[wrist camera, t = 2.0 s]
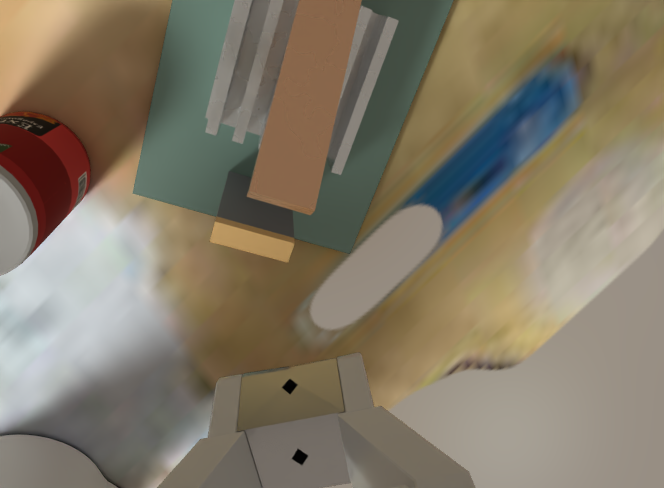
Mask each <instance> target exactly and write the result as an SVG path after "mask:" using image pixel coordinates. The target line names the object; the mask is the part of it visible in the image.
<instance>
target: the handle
mask: <svg viewBox="0 0 664 488" xmlns="http://www.w3.org/2000/svg"><path fill="white" fill-rule="evenodd" d="M361 1H362V0H299V1H298V5H297V9H296V12H295V16H294V20H293V24H292V27H291V31H290V35H289V39H288V42H287V46H286V50H285V54H284V57H283V61H282V65H281V69H280V73H279V76H278V80H277V84H276V88H275V91H274V95H273V99H272V103H271V106H270V110H269V114H268V118H267V122H266V125H265V129H264V133H263V137H262V140H261V144H260V148H259V152H258V155H257V159H256V163H255V167H254V170H253V174H252V178H251V182H250V186H249V189H248V193H247V197H249V198H253V199H256V200H260V201H263V202H267V203H270V204H273V205H277V206H280V207H284V208H287V209H291V210H294V211H297V212H301V213H304V214H308V215H311V214H312V213H313V212H314V211H315V208H316V203H317V199H318V194H319V190H320V185H321V181H322V176H323V172H324V167H325V163H326V158H327V154H328V149H329V145H330V140H331V136H332V131H333V127H334V122H335V118H336V113H337V109H338V105H339V100H340V96H341V91H342V87H343V82H344V78H345V73H346V69H347V64H348V60H349V55H350V51H351V46H352V42H353V37H354V33H355V28H356V24H357V19H358V15H359V10H360V6H361Z"/></svg>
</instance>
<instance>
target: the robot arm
mask: <svg viewBox="0 0 664 488" xmlns="http://www.w3.org/2000/svg"><path fill="white" fill-rule="evenodd" d="M337 363H338V364H337ZM338 369H339V370H338ZM348 483H351V486H352V487H353V488H475V485H474V483H473V480H472V478H471V476H470V473H469V471H467V470H466V469H465V468H463V467H462V466H461V465H459V464H458V463H456V462H455V461H454V460H453V459H451V458H450V457H449V456H447V455H446V454H445V453H443V452H442V451H441V450H439V449H438V448H436V447H435V446H434V445H433V444H431V443H430V442H428V441H427V440H426V439H425V438H423V437H422V436H420V435H419V434H418V433H416V432H415V431H414V430H413V429H411V428H410V427H408V426H407V425H406V424H405V423H403V422H402V421H400V420H399V419H398V418H397V417H395V416H394V415H393V414H391V413H390V412H388V411H387V410H386V409H384V408H383V407H382V406H378V407H374V405H373V401H372V396H371V392H370V388H369V384H368V379H367V375H366V371H365V367H364V363H363V358H362V355H361V353H360V352H358V353H354V354H349V355H344V356H339V357H337V359H336V358H332V359H327V360H322V361H316V362H311V363H306V364H300V365H295V366H288V367H282V368H275V369H269V370H263V371H256V372H250V373H244V374H239V375H233V376H227V377H221V378H219V380H218V381H217V383H216V388H215V395H214V401H213V407H212V413H211V420H210V426H209V432H208V438H204V439H200V440H199V441H198V442H197V444H196V445H195V446H194V447H193V448H192V449H191V450H190V451H189V453H188V454H187V455H186V456H185V457H184V458H183V459H182V460H181V462H180V463H179V464H178V465H177V466H176V467H175V468H174V469H173V471H172V472H171V473H170V474H169V475H168V476H167V477H166V478H165V479H164V481H163V482H162V483H161V484H160V485H159V486H158V487H157V488H323V487H329V486H336V485H341V484H348ZM0 488H118V487H116V486H115V485H113V484H112V483H110V482H108V481H107V480H106V479H105V478H104V476H103V475H102V474H101V472H100V471H99V469H98V468H97V466H96V465H95V464H94V463H93V462H92V461H91V460H90V459H89V458H88V457H87V456H85V455H84V454H83V453H81V452H80V451H78V450H77V449H75V448H73V447H71V446H69V445H67V444H64V443H62V442H59V441H56V440H53V439H49V438H45V437H40V436H34V435H5V436H0Z"/></svg>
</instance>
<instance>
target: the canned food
mask: <svg viewBox="0 0 664 488" xmlns="http://www.w3.org/2000/svg"><path fill="white" fill-rule="evenodd" d="M90 170H91V169H90V162H89V158H88V155H87V152H86V150H85V148H84V146H83V144H82V143H81V141H80V140H79V139H78V137H77V136H76V135H75V134H74V133H73V132H72V131H71V130H70V129H69V128H68V127H67V126H65V125H64V124H62V123H61V122H59V121H58V120H56V119H53V118H51V117H49V116H46V115H42V114H38V113H33V112H14V113H9V114H6V115H4V116H1V117H0V276H1V275H4V274H6V273H8V272H10V271H12V270H13V269H15V268H16V267H18V266H19V265H20V264H22V263H23V262H24V261H25V260H26V259H27V258H28V257H29V256H30V255H31V254H32V253H33V252H34V251H35V250H36V249H37V248H38V247H39V246H40V244H41V243H42V242H43V241H44V240H45V239H46V238H47V237H48V236H49V235H50V234H51V233H52V232H53V230H54V229H55V228H56V227H57V226H58V225H59V224H60V223H61V222H62V221H63V220H64V219H65V218H66V217H67V215H68V214H69V213H70V212H71V211H72V210H73V209H74V208H75V207H76V206H77V205H78V204H79V203H80V201H81V200H82V199H83V198H84V196H85V194H86V192H87V190H88V187H89V183H90Z"/></svg>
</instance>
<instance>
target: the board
mask: <svg viewBox="0 0 664 488" xmlns="http://www.w3.org/2000/svg"><path fill="white" fill-rule="evenodd" d="M234 1H235V0H172V5H171V10H170V15H169V20H168V25H167V29H166V34H165V39H164V44H163V49H162V54H161V58H160V63H159V68H158V73H157V78H156V83H155V87H154V92H153V97H152V102H151V107H150V112H149V116H148V121H147V126H146V131H145V136H144V141H143V146H142V150H141V155H140V160H139V165H138V170H137V175H136V179H135V184H134V189H133V194H136V195H140V196H144V197H147V198H151V199H154V200H158V201H162V202H165V203H169V204H172V205H176V206H179V207H183V208H187V209H190V210H194V211H197V212H201V213H205V214H208V215H212V216H215V217H216V219H215V223H214V227H213V230H212V234H211V238H210V241H209V242H212V243H216V244H220V245H223V246H227V247H231V248H235V249H238V250H242V251H246V252H250V253H253V254H257V255H261V256H265V257H268V258H272V259H276V260H280V261H283V262H287V263H288V261H289V259H290V256H291V253H292V250H293V247H294V245H295V239H298V240H301V241H305V242H309V243H312V244H316V245H319V246H323V247H327V248H330V249H334V250H337V251H341V252H345V253H348V254H350V252H351V250H352V248H353V245H354V243H355V240H356V238H357V235H358V233H359V230H360V228H361V226H362V223H363V221H364V218H365V216H366V213H367V211H368V208H369V206H370V204H371V201H372V199H373V196H374V194H375V191H376V189H377V186H378V184H379V182H380V179H381V177H382V174H383V172H384V169H385V167H386V164H387V162H388V159H389V157H390V155H391V152H392V150H393V147H394V145H395V142H396V140H397V137H398V135H399V133H400V130H401V128H402V125H403V123H404V120H405V118H406V115H407V113H408V111H409V108H410V106H411V103H412V101H413V98H414V96H415V93H416V91H417V89H418V86H419V84H420V81H421V79H422V76H423V74H424V71H425V69H426V67H427V64H428V62H429V59H430V57H431V54H432V52H433V49H434V47H435V45H436V42H437V40H438V37H439V35H440V32H441V30H442V27H443V25H444V23H445V20H446V18H447V15H448V13H449V10H450V8H451V5H452V3H453V1H454V0H362V1H361V6H363V7H366V8H368V9H371V10H372V12H373V13H376V14H379V15H384V16H388V17H391V18H393V19H396V20H398V21H399V22H398V24H397V27H396V30H395V32H394V35H393V38H392V40H391V43H390V46H389V48H388V51H387V54H386V56H385V59H384V62H383V64H382V67H381V70H380V72H379V75H378V78H377V80H376V83H375V86H374V88H373V91H372V94H371V96H370V99H369V102H368V104H367V107H366V110H365V112H364V115H363V118H362V120H361V123H360V126H359V128H358V131H357V134H356V136H355V139H354V142H353V144H352V147H351V150H350V152H349V155H348V158H347V160H346V163H345V166H344V168H343V171H342V174H341V175H339V174H336V173H333V172H331V170H330V167H329V163H328V160H327V158H326V163H325V167H324V172H323V176H322V181H321V185H320V190H319V194H318V199H317V203H316V208H315V211H314V212H313V213H312V214H311V215H308V214H304V213H301V212H297V211H294V210H291V209H287V208H284V207H280V206H277V205H273V204H270V203H267V202H263V201H260V200H256V199H253V198H249V197H247V193H248V189H249V186H250V182H251V178H252V174H253V170H254V167H255V163H256V159H257V155H258V152H259V149H258V144H259V136H260V135H257V134H254V133H251V132H247V131H246V134H245V138H244V141H243V144H241V143H237V142H234V141H232V138H233V135H234V131H235V127H232V126H229V125H226V124H223V123H221V126H220V128H219V130H218V133H217V135H216V136H215V135H212V134H209V133H206V132H205V131H206V127H207V123H208V119H207V118H205V116H206V112H207V108H208V104H209V100H210V96H211V92H212V88H213V84H214V80H215V76H216V72H217V68H218V64H219V60H220V56H221V52H222V48H223V44H224V40H225V36H226V33H227V29H228V25H229V21H230V17H231V13H232V9H233V5H234Z"/></svg>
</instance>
